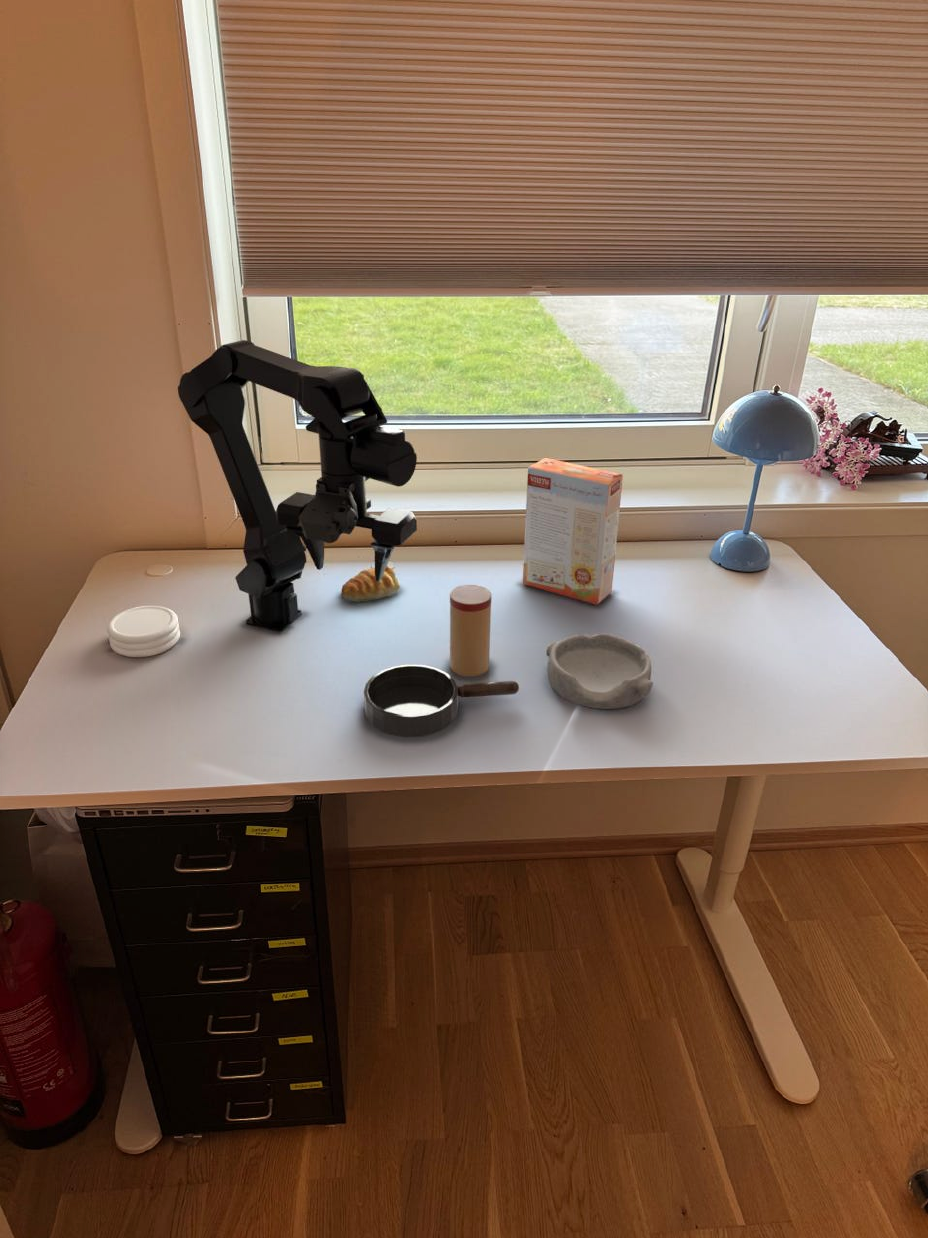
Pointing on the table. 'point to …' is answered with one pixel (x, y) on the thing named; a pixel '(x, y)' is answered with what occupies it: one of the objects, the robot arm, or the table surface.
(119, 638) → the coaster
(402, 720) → the pan
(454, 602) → the cracker tube
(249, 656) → the table surface
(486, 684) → the pan handle
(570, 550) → the cracker box
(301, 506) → the robot arm
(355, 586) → the pastry
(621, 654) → the dish
